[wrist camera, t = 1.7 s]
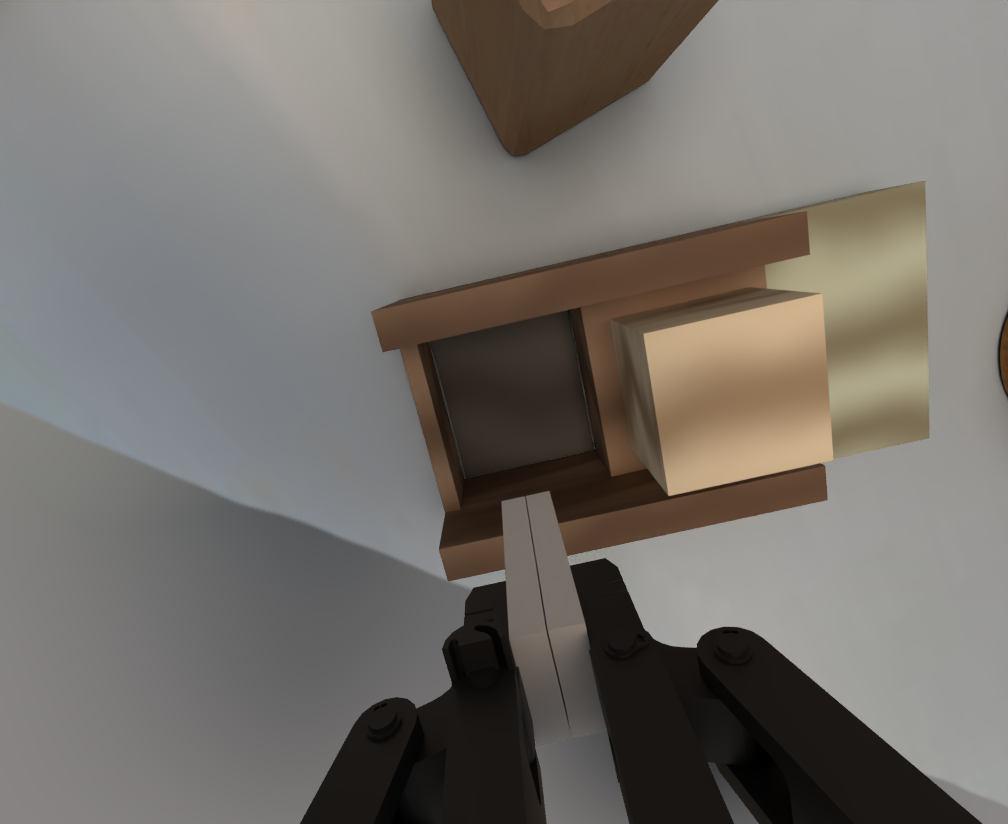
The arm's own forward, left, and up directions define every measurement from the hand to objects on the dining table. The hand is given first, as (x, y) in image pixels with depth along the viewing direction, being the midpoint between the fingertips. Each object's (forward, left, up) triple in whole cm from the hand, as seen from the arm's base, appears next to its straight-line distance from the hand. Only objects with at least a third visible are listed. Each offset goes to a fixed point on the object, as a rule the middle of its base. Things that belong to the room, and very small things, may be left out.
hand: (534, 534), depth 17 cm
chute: (0, +9, -20) cm, 23 cm away
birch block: (0, +10, -15) cm, 19 cm away
